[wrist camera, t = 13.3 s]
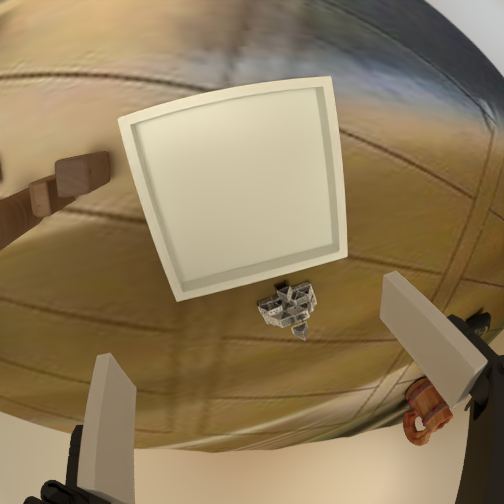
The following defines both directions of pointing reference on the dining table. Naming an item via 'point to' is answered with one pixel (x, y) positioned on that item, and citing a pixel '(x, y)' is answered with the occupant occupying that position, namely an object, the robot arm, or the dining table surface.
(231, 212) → the tray
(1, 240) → the wooden block set
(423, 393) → the mug
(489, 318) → the tape measure
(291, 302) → the house of cards
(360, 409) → the dining table surface
